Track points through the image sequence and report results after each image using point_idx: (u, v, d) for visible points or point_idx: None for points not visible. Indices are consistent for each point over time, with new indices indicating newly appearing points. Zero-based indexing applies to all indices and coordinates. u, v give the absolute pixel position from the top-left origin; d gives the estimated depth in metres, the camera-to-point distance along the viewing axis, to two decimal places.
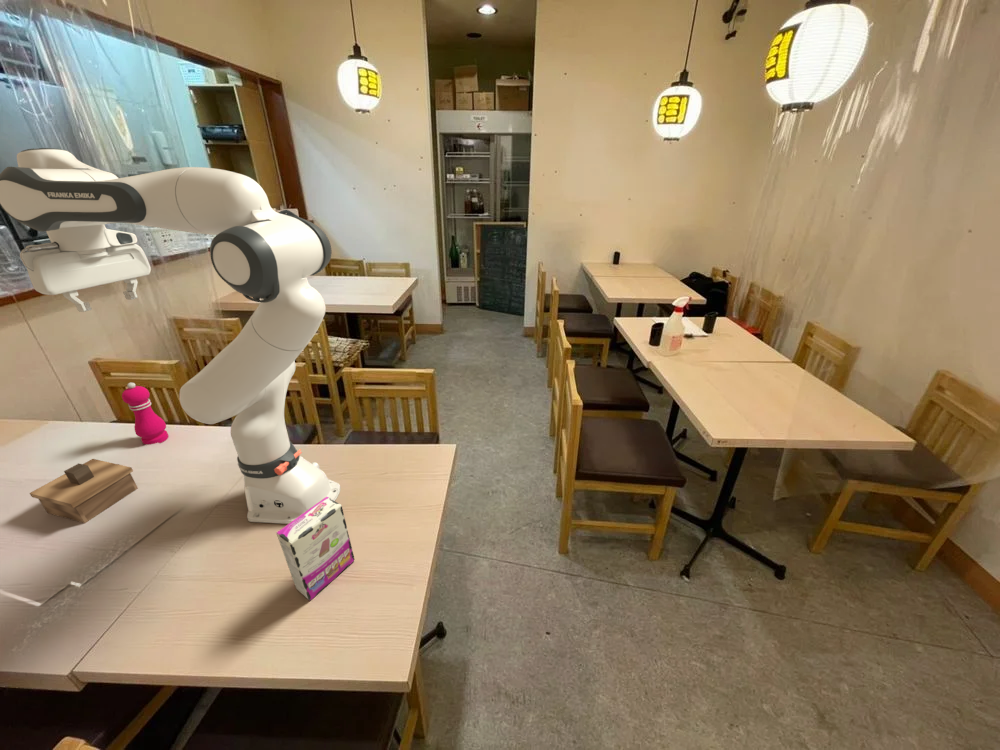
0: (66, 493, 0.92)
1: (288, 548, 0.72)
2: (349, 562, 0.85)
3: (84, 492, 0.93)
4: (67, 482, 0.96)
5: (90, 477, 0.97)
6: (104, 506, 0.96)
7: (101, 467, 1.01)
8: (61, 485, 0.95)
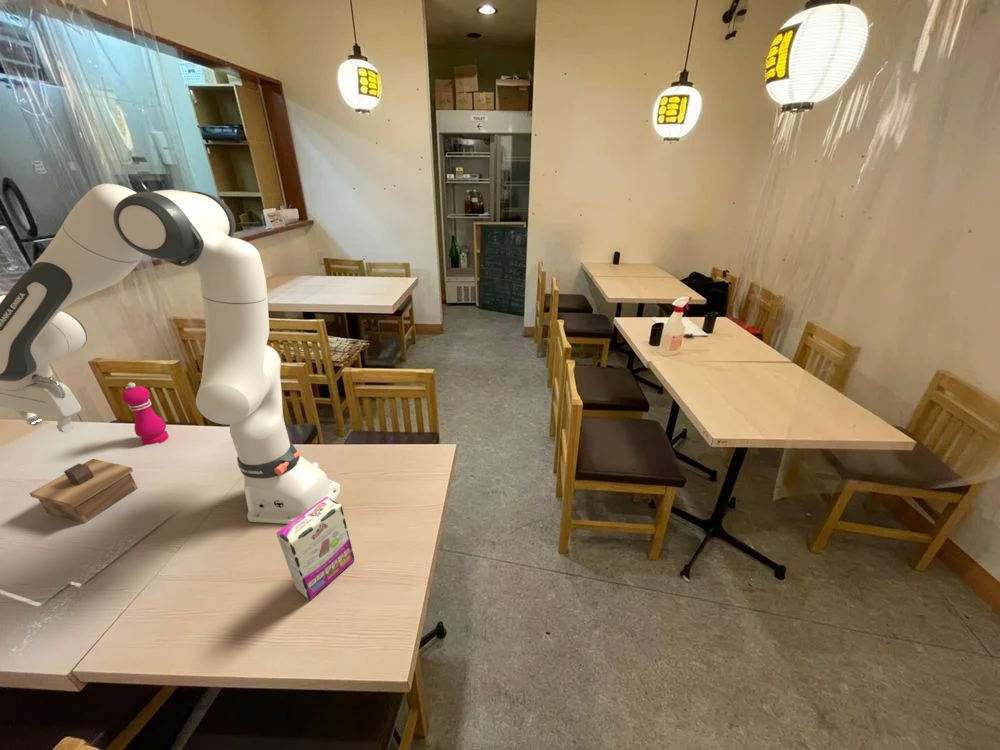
0: (66, 493, 0.92)
1: (288, 548, 0.72)
2: (349, 562, 0.85)
3: (84, 492, 0.93)
4: (67, 482, 0.96)
5: (90, 477, 0.97)
6: (104, 506, 0.96)
7: (101, 467, 1.01)
8: (61, 485, 0.95)
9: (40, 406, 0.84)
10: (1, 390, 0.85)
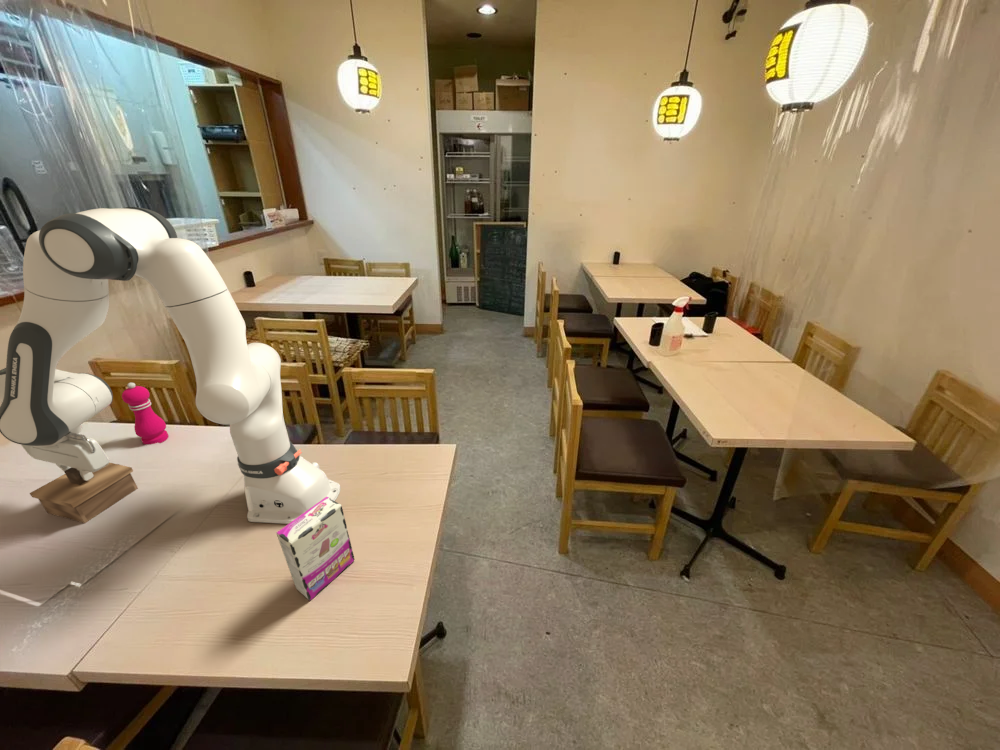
0: (66, 493, 0.92)
1: (288, 548, 0.72)
2: (349, 562, 0.85)
3: (84, 492, 0.93)
4: (67, 482, 0.96)
5: None
6: (104, 506, 0.96)
7: None
8: (61, 485, 0.95)
9: (72, 460, 0.90)
10: None
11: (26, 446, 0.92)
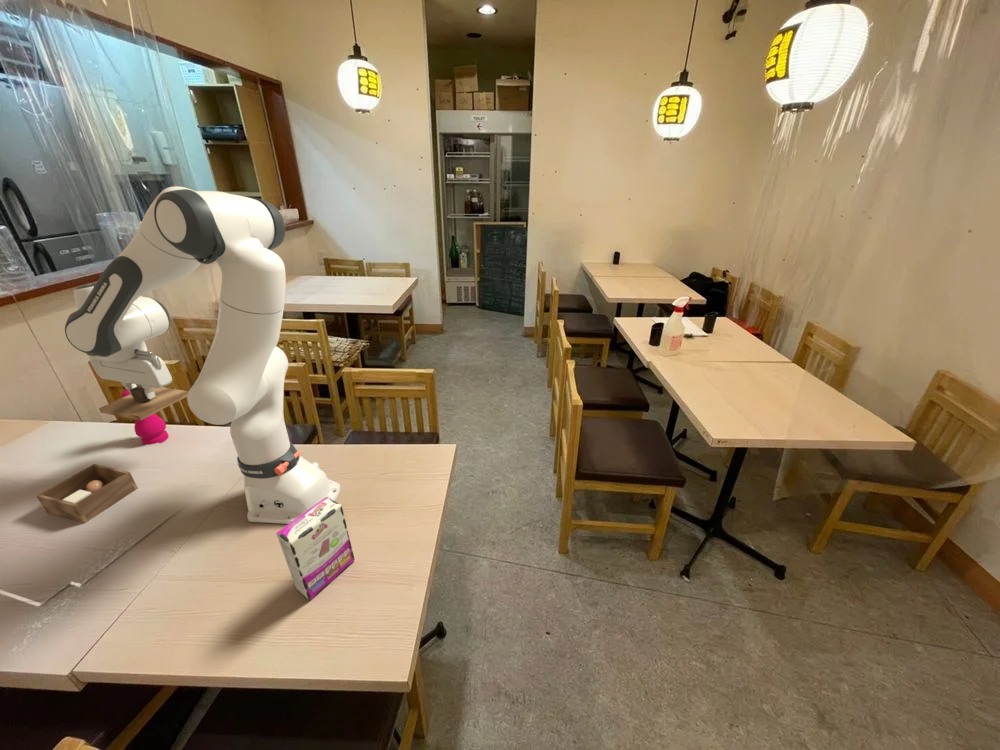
0: (132, 408, 1.00)
1: (288, 548, 0.72)
2: (349, 562, 0.85)
3: (149, 408, 1.01)
4: (131, 401, 1.03)
5: None
6: (104, 506, 0.96)
7: (160, 391, 1.08)
8: (126, 403, 1.02)
9: (140, 376, 0.98)
10: (105, 363, 1.00)
11: (96, 365, 1.00)
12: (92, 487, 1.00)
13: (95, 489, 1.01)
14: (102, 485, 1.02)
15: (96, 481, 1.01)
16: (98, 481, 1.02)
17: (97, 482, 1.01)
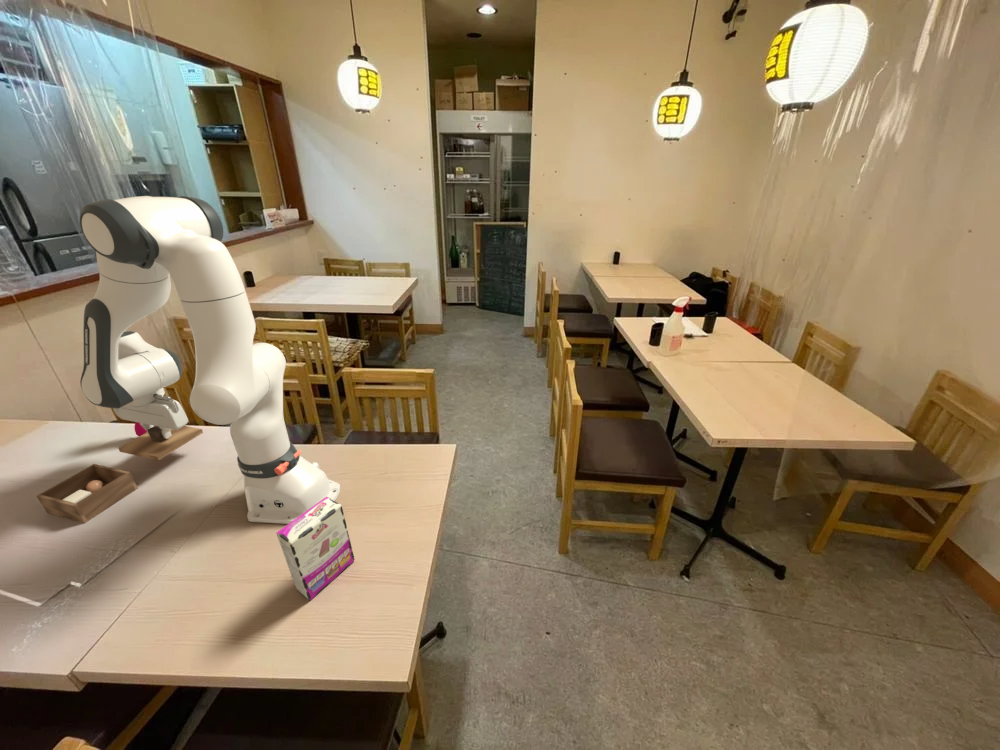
0: (150, 448, 1.06)
1: (288, 548, 0.72)
2: (349, 562, 0.85)
3: (166, 447, 1.06)
4: (149, 440, 1.09)
5: None
6: (104, 506, 0.96)
7: None
8: (144, 442, 1.08)
9: (158, 419, 1.04)
10: (124, 406, 1.05)
11: None
12: (92, 487, 1.00)
13: (95, 489, 1.01)
14: (102, 485, 1.02)
15: (96, 481, 1.01)
16: (98, 481, 1.02)
17: (97, 482, 1.01)
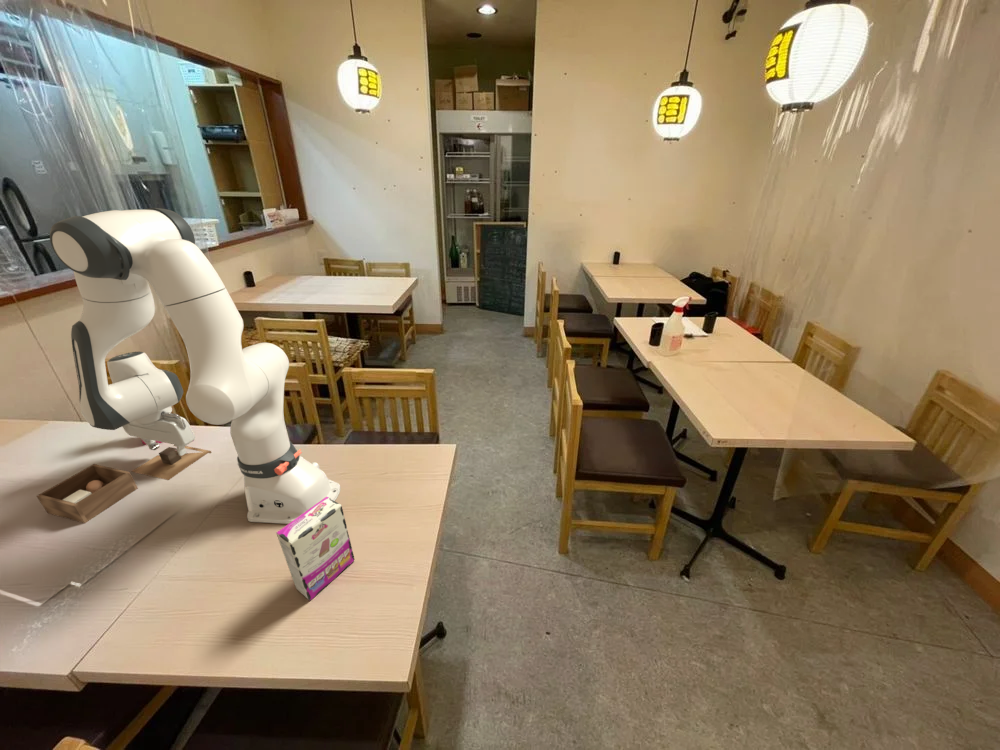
0: (162, 471, 1.09)
1: (288, 548, 0.72)
2: (349, 562, 0.85)
3: (177, 470, 1.10)
4: (160, 463, 1.12)
5: (179, 459, 1.14)
6: (104, 506, 0.96)
7: None
8: (156, 465, 1.12)
9: (166, 435, 1.06)
10: (133, 423, 1.08)
11: (125, 424, 1.08)
12: (92, 487, 1.00)
13: (95, 489, 1.01)
14: (102, 485, 1.02)
15: (96, 481, 1.01)
16: (98, 481, 1.02)
17: (97, 482, 1.01)
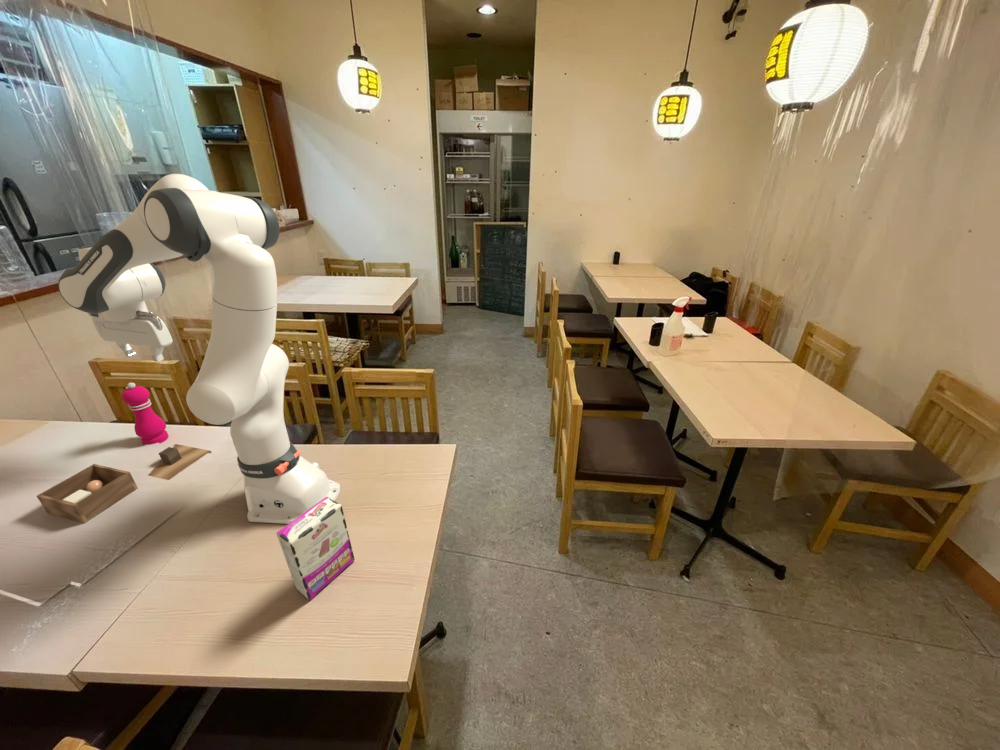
0: (162, 471, 1.09)
1: (288, 548, 0.72)
2: (349, 562, 0.85)
3: (177, 470, 1.10)
4: (160, 463, 1.12)
5: (178, 458, 1.14)
6: (104, 506, 0.96)
7: (185, 451, 1.17)
8: None
9: (142, 337, 1.02)
10: (107, 325, 1.04)
11: (99, 326, 1.04)
12: (92, 487, 1.00)
13: (95, 489, 1.01)
14: (102, 485, 1.02)
15: (96, 481, 1.01)
16: (98, 481, 1.02)
17: (97, 482, 1.01)
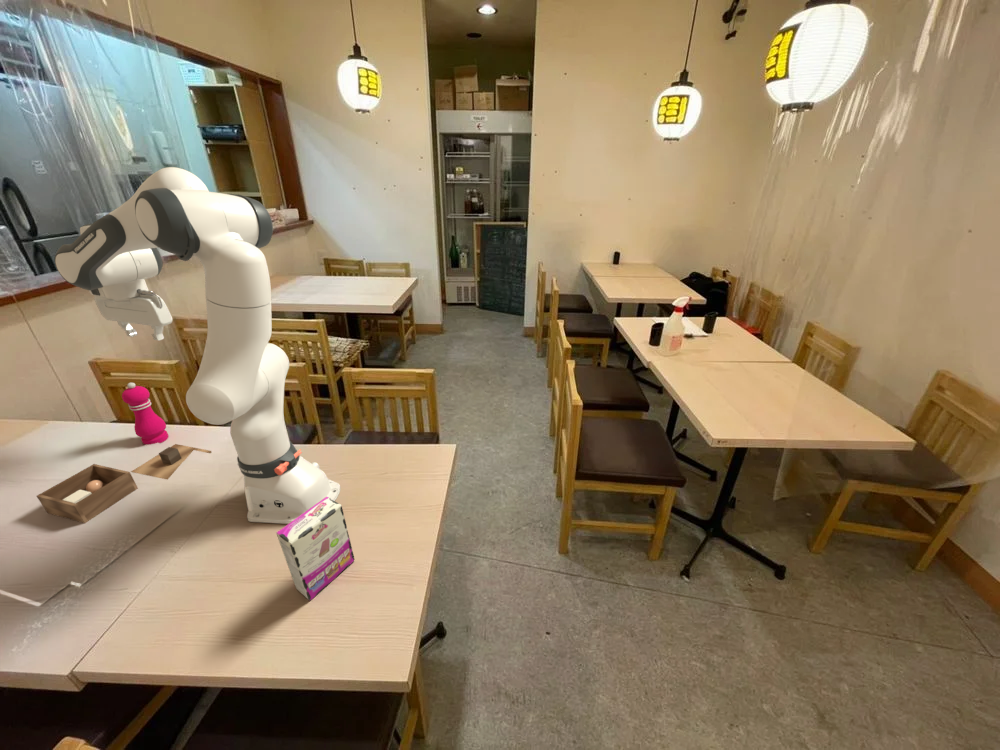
0: (162, 471, 1.09)
1: (288, 548, 0.72)
2: (349, 562, 0.85)
3: None
4: (160, 463, 1.12)
5: (179, 459, 1.14)
6: (104, 506, 0.96)
7: (185, 451, 1.17)
8: (156, 465, 1.12)
9: (142, 315, 1.04)
10: (109, 304, 1.06)
11: (101, 306, 1.06)
12: (92, 487, 1.00)
13: (95, 489, 1.01)
14: (102, 485, 1.02)
15: (96, 481, 1.01)
16: (98, 481, 1.02)
17: (97, 482, 1.01)
